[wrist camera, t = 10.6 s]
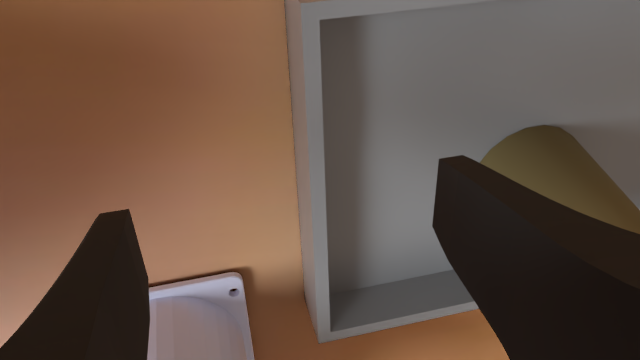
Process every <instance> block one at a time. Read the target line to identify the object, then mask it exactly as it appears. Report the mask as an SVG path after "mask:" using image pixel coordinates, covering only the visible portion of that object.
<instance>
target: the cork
mask: <svg viewBox="0 0 640 360" xmlns="http://www.w3.org/2000/svg"><path fill="white" fill-rule="evenodd" d="M480 163H481V164H483V165H485V166H487V167H489V168H491V169H492V170H494V171H496V172H498V173H500V174H502V175H504V176H506V177H508V178H510V179H511V180H513V181H515V182H517V183H519V184H521V185H523V186H525V187H527V188H529V189H531V190H533V191H535V192H537V193H539V194H541V195H543V196H545V197H547V198H549V199H551V200H553V201H556V202H558V203H560V204H562V205H564V206H567V207H569V208H571V209H573V210H576V211H578V212H580V213H583V214H585V215H588V216H590V217H592V218H595V219H598V220H601V221H603V222H606V223H609V224H611V225H614V226H617V227H620V228H622V229H625V230H628V231H632V232H635V233H638V234H640V210H639V209H638V208H637V207H636V206H635V204H634V203H633V202H632V201H631V200H630V199H629V198H628V197H627V196H626V194H625V193H624V192H623V191H622V190H621V189H620V188H619V187H618V186H617V184H616V183H615V182H614V181H613V180H612V179H611V178H610V177H609V176H608V174H607V173H606V172H605V171H604V170H603V169H602V168H601V167H600V166H599V164H598V163H597V162H596V161H595V160H594V159H593V158H592V157H591V156H590V155H589V153H588V152H587V151H586V150H585V149H584V148H583V147H582V146H581V145H580V143H579V142H578V141H577V140H576V139H575V138H574V137H573V136H572V135H571V134H569V133H568V132H566V131H565V130H563V129H562V128H559V127H553V126H547V125H541V126H535V127H529V128H525V129H523V130H520V131H518V132H516V133H514V134H512V135H509V136H507V137H506V138H505V139H503V140H502V141H501V142H499V143H498V144H497V145H496V146H494V147H493V148H492V149H490V150H489V152H488V153H487V154H486V155H485V157H484V158H483V159H482V160H481V162H480Z"/></svg>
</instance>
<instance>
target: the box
mask: <svg viewBox="0 0 640 360" xmlns="http://www.w3.org/2000/svg"><path fill="white" fill-rule="evenodd" d="M284 4H285V19H286V33H287V48H288V62H289V77H290V91H291V106H292V121H293V135H294V150H295V164H296V179H297V193H298V208H299V222H300V237H301V252H302V266H303V281H304V295H305V302H306V305H307V308H308V311H309V315H310V318H311V321H312V324H313V327H314V331H315V334H316V337H317V340H318V343H319V344H320V343H325V342H329V341H334V340H338V339H343V338H347V337H352V336H357V335H361V334H366V333H370V332H375V331H379V330H384V329H389V328H393V327H398V326H402V325H407V324H411V323H416V322H421V321H425V320H430V319H434V318H439V317H443V316H448V315H453V314H457V313H462V312H466V311H471V310H475V309H479V307H478V306H477V304H476V303H475V301H474V300H473V298H472V297H471V295H470V294H469V292H468V291H467V289H466V288H465V286H464V285H463V283H462V281H461V280H460V278H459V277H458V275H457V274H456V272H455V271H454V269H453V267H452V266H451V264H450V263H449V261H448V259H447V257H446V255H445V253H444V251H443V249H442V247H441V245H440V243H439V240H438V238H437V236H436V234H435V231H434V229H433V227H432V223H433V213H434V203H435V193H436V183H437V173H438V163H439V159H441V158H447V157H453V156H459V155H464V156H466V157H468V158H471V159H473V160H475V161H477V162H479V163H480V162H481V160H482V159H483V158H484V157H485V155H486V154H487V153H488V152H489V150H490V149H492V148H493V147H494V146H496V145H497V144H498V143H499V142H501V141H502V140H503V139H505V138H506V137H507V136H509V135H512V134H514V133H516V132H518V131H520V130H523V129H525V128H529V127H535V126H541V125H547V126H553V127H559V128H562V129H563V130H565V131H566V132H568V133H569V134H571V135H572V136H573V137H574V138H575V139H576V140H577V141H578V142H579V143H580V145H581V146H582V147H583V148H584V149H585V150H586V151H587V152H588V153H589V155H590V156H591V157H592V158H593V159H594V160H595V161H596V162H597V163H598V164H599V166H600V167H601V168H602V169H603V170H604V171H605V172H606V173H607V174H608V176H609V177H610V178H611V179H612V180H613V181H614V182H615V183H616V184H617V186H618V187H619V188H620V189H621V190H622V191H623V192H624V193H625V194H626V196H627V197H628V198H629V199H630V200H631V201H632V202H633V203H634V204H635V206H636V207H637V208H638V209H639V210H640V0H284Z"/></svg>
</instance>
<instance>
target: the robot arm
mask: <svg viewBox="0 0 640 360" xmlns="http://www.w3.org/2000/svg"><path fill="white" fill-rule="evenodd" d="M432 227H433V229H434V231H435V234H436V236H437V238H438V240H439V243H440V245H441V247H442V249H443V251H444V253H445V255H446V257H447V259H448V261H449V263H450V264H451V266H452V267H453V269H454V271H455V272H456V274H457V275H458V277H459V278H460V280H461V281H462V283H463V285H464V286H465V288H466V289H467V291H468V292H469V294H470V295H471V297H472V298H473V300H474V301H475V303H476V304H477V306H478V307H479V309H480V310H481V312H482V313H483V315H484V316H485V318H486V319H487V321H488V323H489V324H490V326H491V327H492V329H493V330H494V332H495V333H496V335H497V337H498V338H499V340H500V342H501V343H502V345H503V347H504V349H505V351H506V353H507V355H508V357H509V359H510V360H640V234H638V233H635V232H632V231H628V230H625V229H622V228H620V227H617V226H614V225H611V224H609V223H606V222H603V221H601V220H598V219H595V218H592V217H590V216H588V215H585V214H583V213H580V212H578V211H576V210H573V209H571V208H569V207H567V206H564V205H562V204H560V203H558V202H556V201H553V200H551V199H549V198H547V197H545V196H543V195H541V194H539V193H537V192H535V191H533V190H531V189H529V188H527V187H525V186H523V185H521V184H519V183H517V182H515V181H513V180H511V179H510V178H508V177H506V176H504V175H502V174H500V173H498V172H496V171H494V170H492V169H491V168H489V167H487V166H485V165H483V164H481V163H479V162H477V161H475V160H473V159H471V158H468V157H466V156H464V155H459V156H453V157H447V158H441V159H439V163H438V173H437V183H436V193H435V203H434V213H433V223H432ZM231 289H237V290H235V291H230V290H231ZM0 360H255V359H254V353H253V346H252V339H251V332H250V326H249V319H248V312H247V305H246V299H245V292H244V285H243V279H242V276H241V275H240V274H239V273H236V272H229V273H224V274H219V275H213V276H208V277H203V278H197V279H192V280H187V281H182V282H176V283H171V284H166V285H161V286H155V287H150V288H149V285H148V276H147V273H146V269H145V265H144V262H143V258H142V254H141V251H140V247H139V243H138V240H137V236H136V233H135V229H134V225H133V222H132V218H131V214H130V211H129V209H126V210H120V211H113V212H107V213H101V214H99V216H98V217H97V218H96V219H95V221H94V223H93V224H92V226H91V228H90V229H89V231H88V233H87V234H86V236H85V238H84V239H83V241H82V242H81V244H80V246H79V247H78V249H77V250H76V252H75V253H74V255H73V257H72V258H71V260H70V261H69V262H68V264H67V265H66V267H65V268H64V270H63V271H62V273H61V274H60V276H59V277H58V279H57V280H56V282H55V283H54V284H53V286H52V287H51V288H50V290H49V291H48V292H47V294H46V295H45V296H44V297H43V299H42V300H41V301H40V303H39V304H38V305H37V307H36V308H35V309H34V310H33V312H32V313H31V314H30V315H29V317H28V318H27V319H26V320H25V321H24V323H23V324H22V325H21V326H20V327H19V328H18V330H17V331H16V332H15V333H14V334H13V335H12V336H11V337H10V338H9V339H8V341H7V342H6V343H5V344H4V345H3V346H2V347H1V348H0Z"/></svg>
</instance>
